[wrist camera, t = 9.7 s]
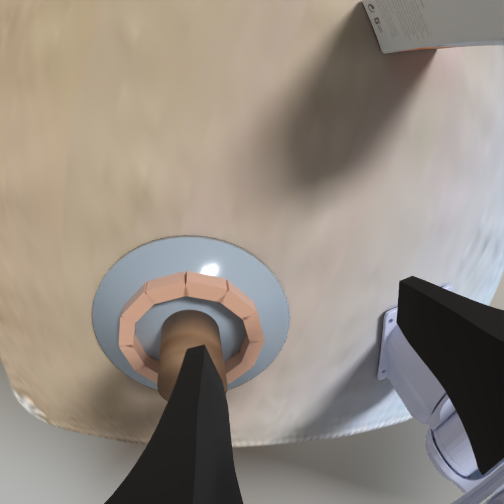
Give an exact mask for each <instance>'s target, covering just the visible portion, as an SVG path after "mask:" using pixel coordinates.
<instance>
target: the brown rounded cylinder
mask: <svg viewBox="0 0 504 504" xmlns="http://www.w3.org/2000/svg"><path fill="white" fill-rule="evenodd" d="M204 344H205V346H206V348H207V350H208V352H209V354H210V357H211V359H212V361H213V363H214V365H215V367H216V369H217V371H218V373H219V375H220V377H221V379H222V381H223V386H224V390H225V394H226V392H227V387H228V386H227V379H226V372H225V366H224V359H223V353H222V346H221V339H220V332H219V327H218V325H217V323H216V321H215V320H214V319H213V318H212V317H211V316H210V315H208V314H206V313H204V312H201V311H198V310H182V311H178V312H175V313H173V314H172V315H170V316H169V317H168V318H167V319H166V320H165V321H164V323H163V326H162V331H161V342H160V353H159V366H158V380H157V389H158V391H159V393H160V395H161V396H162V397H163V398H164V399H165V400H167V401H169V398H170V396H171V393H172V391H173V388H174V385H175V383H176V380H177V377H178V374H179V371H180V368H181V365H182V362H183V359H184V356H185V353H186V350H187V349H188V348H192V347H196V346H200V345H204Z"/></svg>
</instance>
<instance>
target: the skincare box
mask: <svg viewBox="0 0 504 504" xmlns="http://www.w3.org/2000/svg"><path fill="white" fill-rule="evenodd" d="M362 2H363V5H364V7H365V9H366V12H367V14H368V17H369V19H370V21H371V24H372V26H373V29H374V31H375V34H376V36H377V39H378V42H379V45H380V48H381V51H382V52H383V53H384V54H387V53H394V52H401V51H410V50H422V49H440V48H451V47H464V46H484V45H504V0H362Z"/></svg>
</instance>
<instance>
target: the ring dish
mask: <svg viewBox="0 0 504 504" xmlns="http://www.w3.org/2000/svg"><path fill="white" fill-rule="evenodd" d="M182 310H198V311H201V312H204V313H206V314H208V315H210V316H211V317H212V318H213V319H214V320H215V321H216V323H217V325H218V327H219V332H220V339H221V346H222V353H223V359H224V366H225V372H226V379H227V386H228V387H227V390H229V389H232V388H235V387H237V386H240V385H242V384H244V383H246V382H248V381H250V380H251V379H253V378H254V377H256V376H257V375H259V374H260V373H261V372H262V371H264V370H265V369H266V368H267V367H268V366H269V365H270V364H271V363H272V362H273V361H274V359H275V358H276V357H277V355H278V354H279V352H280V351H281V349H282V347H283V345H284V343H285V340H286V338H287V334H288V330H289V322H290V314H289V306H288V302H287V299H286V296H285V294H284V291H283V289H282V287H281V285H280V283H279V281H278V280H277V278H276V277H275V275H274V274H273V272H272V271H271V270H270V269H269V268H268V267H267V266H266V265H265V264H264V263H263V262H262V261H261V260H259V259H258V258H257V257H256V256H254V255H253V254H251V253H250V252H248V251H246V250H245V249H243V248H241V247H239V246H236V245H234V244H232V243H229V242H226V241H223V240H219V239H216V238H210V237H204V236H189V235H183V236H172V237H166V238H161V239H157V240H153V241H151V242H148V243H145V244H143V245H140V246H138V247H137V248H135V249H133V250H131V251H129V252H128V253H126V254H125V255H124V256H122V257H121V258H120V259H119V260H118V261H117V262H116V263H115V264H114V265H113V266H112V267H111V268H110V269H109V270H108V272H107V273H106V275H105V276H104V278H103V279H102V282H101V284H100V286H99V288H98V290H97V292H96V295H95V299H94V303H93V312H92V316H93V326H94V330H95V334H96V337H97V339H98V342H99V344H100V346H101V348H102V349H103V351H104V353H105V354H106V355H107V357H108V358H109V359H110V361H111V362H112V363H113V364H114V365H115V366H116V367H117V368H118V369H120V370H121V371H122V372H123V373H124V374H126V375H127V376H129V377H130V378H132V379H133V380H135V381H137V382H139V383H141V384H143V385H145V386H147V387H150V388H153V389H155V390H158V389H157V380H158V366H159V353H160V342H161V331H162V326H163V323H164V321H165V320H166V319H167V318H168V317H169V316H170V315H172V314H173V313H175V312H178V311H182Z"/></svg>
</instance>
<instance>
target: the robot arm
mask: <svg viewBox="0 0 504 504" xmlns="http://www.w3.org/2000/svg"><path fill="white" fill-rule="evenodd" d="M452 289H453V287H452V286H451V285H450V284H448V285H446V286H444V287H439V286H437V285H434V284H432V283H430V282H427V281H425V280H422V279H419V278H417V277H414V276H411V277H409V278H406V279H404V280H401V281H399V297H398V307H396V308H393V309H391V310H389V311H387V312H386V313H385V315H384V322H383V333H382V343H381V352H380V360H379V368H378V375H377V378H378V380H383V379H385V378H388V380H389V381H390V383H391V384H392V386H393V387H394V389H395V390H396V392H397V394H398V395H399V397H400V398H401V400H402V401H403V403H404V405H405V406H406V408H407V409H408V411H409V412H410V414H411V415H412V416H413V417H414V418H415V419H416V420H418V421H419V422H421V423H423V424H427V425H429V427H430V429H429V430H428V431H427V433H426V443H425V445H426V451H427V454H428V456H429V458H430V460H431V462H432V464H433V465H434V467H435V468H436V470H437V471H438V472H439V473H440V474H441V475H442V476H443V477H444V478H446V479H447V480H449V481H451V482H453V483H454V484H455V485H457V487H458V488H460V489H461V491H462V492H464V493H466V494H465V495H463V496H462V497H460V498H459V499H458V500H456V501H455V502H453V503H452V504H479V503H480V502H482V501H483V500H484V499H486V498H487V497H488V496H489V495H491V494H492V493H496V494H495V495H494V496H492V497H491V498H490V499H489V500H487V501H486V502H485V503H484V504H504V310H500V309H496V308H493V307H490V306H487V305H484V304H481V303H479V302H476V301H473V300H471V299H468V298H466V297H463V296H461V295H458V294H456V293H453V292H452ZM104 504H243V501H242V497H241V493H240V489H239V485H238V481H237V477H236V473H235V468H234V461H233V453H232V443H231V433H230V423H229V413H228V405H227V400H226V395H225V390H224V386H223V381H222V379H221V377H220V375H219V373H218V371H217V369H216V367H215V365H214V363H213V361H212V359H211V357H210V354H209V352H208V350H207V348H206V346H205V344H204V345H200V346H196V347H192V348H188V349H187V350H186V353H185V356H184V359H183V362H182V365H181V368H180V371H179V374H178V377H177V380H176V383H175V385H174V388H173V391H172V393H171V396H170V398H169V401H168V403H167V406H166V408H165V410H164V412H163V415H162V417H161V419H160V421H159V424H158V426H157V428H156V430H155V432H154V434H153V435H152V437H151V439H150V441H149V443H148V445H147V446H146V448H145V450H144V452H143V453H142V455H141V456H140V458H139V459H138V461H137V463H136V464H135V466H134V467H133V469H132V470H131V472H130V473H129V474H128V476H127V477H126V478H125V480H124V481H123V482H122V483H121V485H120V486H119V487H118V488H117V490H116V491H115V492H114V494H113V495H112V496H111V497H110V498H109V499H108V500H107V501H106V502H105V503H104Z"/></svg>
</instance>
